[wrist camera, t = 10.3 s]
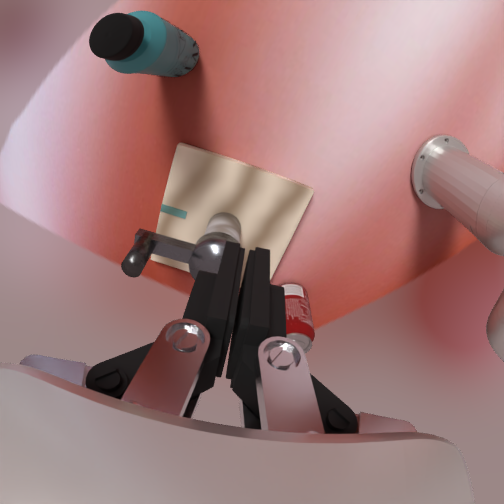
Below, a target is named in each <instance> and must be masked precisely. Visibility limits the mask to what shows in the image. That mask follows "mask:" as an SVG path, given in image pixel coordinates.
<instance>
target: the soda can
mask: <svg viewBox="0 0 504 504" xmlns="http://www.w3.org/2000/svg"><path fill="white" fill-rule="evenodd" d="M279 286H281V287H284V290H285V308H286V333H287V338H288V339H291V340H293V341H294V342H296V343H297V344H298V345H299V346H300V347H301V348H302V349H303V351H304V354H305V353H307V352H308V351H309V350H310V349H311V347H312V341H313V340H314V336H315V333H314V327H313V321H312V316H311V310H310V305H309V299H308V294H307V291H306V290H305V288H304V287H303V286H301V285H299V284H296V283H284V284H281V285H279Z"/></svg>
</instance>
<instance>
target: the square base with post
mask: <svg viewBox="0 0 504 504" xmlns="http://www.w3.org/2000/svg"><path fill="white" fill-rule="evenodd" d="M313 193H314V190H313V188H311V187H309V186H306V185H304V184H301V183H299V182H296V181H293V180H291V179H288V178H286V177H283V176H280V175H278V174H275V173H272V172H270V171H267V170H264V169H261V168H258V167H256V166H253V165H250V164H247V163H244V162H241V161H238V160H235V159H232V158H229V157H226V156H223V155H220V154H217V153H214V152H211V151H208V150H204V149H201V148H198V147H195V146H191V145H188V144H185V143H181V142H180V143H179V144H178V145H177V148H176V152H175V155H174V159H173V163H172V166H171V170H170V174H169V178H168V182H167V186H166V190H165V194H164V198H163V203H162V206H161V211H160V216H159V221H158V225H157V230H156V233H157V234H161V235H164V236H168V237H171V238H175V239H178V240H182V241H186V242H189V243H193V244H196V242H197V241H198V239H199V238H200V237H202V236H203V235H205V234H207V233H211V232H223V233H226V234H229V235H231V236H232V237H234V238H235V239H236V240H237V241H238V242H239V243H240V245H241V246H242V248H245V254H244V261H243V267H242V274H241V281H240V288H241V283H242V279H243V275H244V271H245V266H246V262H247V258H248V254H249V250H255V248H256V247H260V248H264V249H269V250H270V280H271V278H272V276H273V274H274V272H275V270H276V268H277V266H278V264H279V262H280V260H281V258H282V256H283V254H284V252H285V250H286V248H287V246H288V244H289V242H290V240H291V238H292V236H293V234H294V232H295V230H296V228H297V226H298V224H299V222H300V220H301V217H302V215H303V213H304V211H305V209H306V207H307V205H308V203H309V201H310V199H311V197H312V195H313ZM151 260H154V261H157V262H160V263H163V264H166V265H169V266H172V267H175V268H178V269H181V270H184V271H187V272H190V271H189V264H187V263H183V262H180V261H176V260H173V259H169V258H166V257H162V256H159V255H155V254H152V256H151Z"/></svg>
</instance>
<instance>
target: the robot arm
mask: <svg viewBox="0 0 504 504" xmlns="http://www.w3.org/2000/svg"><path fill="white" fill-rule="evenodd" d="M411 178H412V184H413V188H414V191H415V193H416V194H417V196H418V197H419V199H420V200H421V201H422V202H423V203H425V204H426V205H427V206H429V207H431V208H434V209H444V208H445V209H446V210H447V211H448V212H449V213H450V214H452V215H453V216H454V217H455V218H456V219H457V220H458V221H459V222H460V223H462V224H463V225H464V226H465V227H466V228H467V229H468V230H469V231H470V232H471V233H472V234H473V235H474V236H475V237H476V238H477V239H478V240H479V241H480V242H481V243H482V244H483V245H484V246H485V247H486V248H488V249H489V250H490V251H491V252H493V253H495V254H498V255H501V256H504V173H503V172H501V171H500V170H498V169H496V168H494V167H493V166H491V165H489V164H487V163H485V162H483V161H481V160H479V159H478V158H476V157H474V156H472V155H470V154H469V152H468V150H467V148H466V147H465V145H464V144H463V143H462V142H461V141H460V140H458V139H457V138H455V137H452V136H449V135H437V136H434V137H432V138H430V139H428V140H427V141H426V142H425V143H424V144H423V145H422V146H421V147H420V148H419V150H418V152H417V154H416V155H415V158H414V161H413V165H412V175H411ZM244 254H245V248H241V247H240V243H235V242H230V241H226V244H225V248H224V251H223V255H222V259H221V263H220V267H219V270H218V274H216V273H211V272H207V271H202V270H199V272H198V274H197V277H196V280H195V283H194V286H193V289H192V291H191V294H190V297H189V300H188V303H187V306H186V309H185V312H184V315H183V318H182V319H177V320H173V321H171V322H169V323H168V324H166V325H165V326H164V328H163V329H162V330H161V332H160V334H159V335H158V337H157V339H156V340H155V342H153V343H150V344H148V345H145V346H143V347H140V348H137V349H135V350H133V351H130V352H127V353H125V354H122V355H119V356H117V357H115V358H112V359H109V360H106V361H104V362H101V363H99V364H97V365H95V366H93V367H91V366H87V365H86V363H83V362H76V361H70V360H63V359H58V358H52V357H47V356H42V355H29V356H27V357H25V358H24V359H23V360H22V361H21V362H20V364H14V363H0V504H475V500H474V495H473V490H472V484H471V479H470V475H469V472H468V468H467V465H466V462H465V460H464V457H463V455H462V453H461V451H460V450H459V448H458V447H457V446H456V445H455V444H454V443H452V442H450V441H448V440H447V439H444V438H442V437H439V436H435V435H432V434H427V433H419V432H417V430H416V429H415V427H414V426H413V425H412V424H411V423H410V422H407V421H404V420H398V419H393V418H388V417H382V416H378V415H373V414H368V413H364V412H360V413H359V414H355V413H354V412H353V411H352V410H351V409H350V408H349V407H348V406H347V405H346V404H345V403H344V402H342V401H341V400H340V399H339V398H338V397H337V396H335V395H334V394H333V393H332V392H331V391H330V390H328V389H327V388H326V387H325V386H324V385H323V384H322V383H321V382H319V381H318V380H317V379H316V378H315V377H314V376H313V375H311V374H310V372H309V368H308V364H307V360H306V357H305V354H304V351H303V349H302V348H301V347H300V346H299V345H298V344H297V343H296V342H294V341H293V340H291V339H288V338H287V333H286V308H285V290H284V287H281V286H276V285H271V284H270V250H269V249H264V248H260V247H256V248H255V250H249V254H248V258H247V262H246V266H245V271H244V275H243V279H242V283H241V288H240V281H241V274H242V267H243V261H244ZM239 288H240V292H239ZM238 295H239V296H238ZM232 330H233V331H232ZM486 333H487V337H488V340H489V343H490V345H491V347H492V348H493V350H494V351H495V353H496V354H497V355H498V356H499V357H500V359H501V360H502V361H503V362H504V289H503V291H502V293H501V295H500V296H499V298H498V300H497V302H496V304H495V305H494V307H493V309H492V311H491V313H490V315H489V317H488V320H487V325H486ZM231 334H232V338H231ZM230 338H231V345H230V352H229V359H228V366H227V373H226V378H227V379H231V386H230V387H231V388H233V389H232V390H233V391H234V392H235V393H236V394H237V396H239V398H240V400H239V409H240V421H241V427H235V426H228V425H222V424H216V423H210V422H205V421H200V420H195V419H193V416H194V413H195V411H196V408H197V406H198V403H199V401H200V398H201V395H202V392H204V391H206V390H208V389H210V388H212V387H213V386H214V381H215V377H221V375H222V371H223V367H224V363H225V359H226V355H227V351H228V347H229V343H230Z"/></svg>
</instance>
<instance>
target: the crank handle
mask: <svg viewBox="0 0 504 504" xmlns="http://www.w3.org/2000/svg"><path fill="white" fill-rule="evenodd" d="M226 241H230V242H235V243H239V242H238V241H237V240H236V239H235V238H234V237H232V236H231V235H229V234H226V233H223V232H211V233H207V234H205V235H203V236H202V237H200V238H199V239H198V241H197V242H196V244H193V243H189V242H186V241H182V240H178V239H175V238H171V237H168V236H164V235H161V234H157V233H154V232H150V231H147V230H143V229H139V230H138V232H137V233H136V234H135V242H134V245H133V247H132V248H131V250H130V251H129V253H128V254H127V256H126V257H125V259H124V260H123V262H122V264H121V267H122V270H123V272H124V273H125V274H126V275H128V276H130V277H138V276H139V275H140V274H141V272H142V270H143V268H144V267H145V265H146V263H147V261H148V259H149V258H150V256H151V254H155V255H159V256H162V257H166V258H169V259H173V260H176V261H180V262H183V263H187V264H189V271H190V273H191V275H192V277H193V278H194V279H195V280H196V277H197V274H198V272H199V270H202V271H207V272H211V273H216V274H218V270H219V267H220V263H221V259H222V255H223V251H224V248H225V244H226ZM240 247H241V248H242V246H241V245H240Z"/></svg>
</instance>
